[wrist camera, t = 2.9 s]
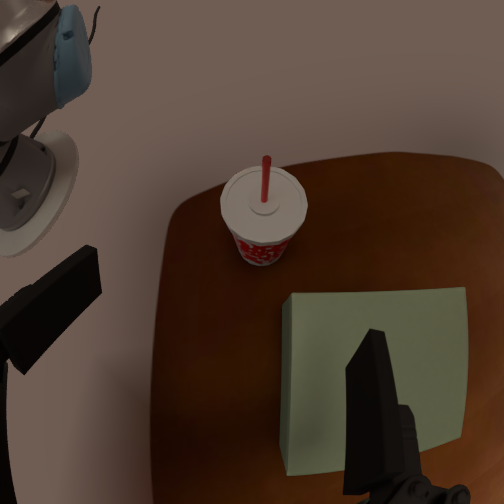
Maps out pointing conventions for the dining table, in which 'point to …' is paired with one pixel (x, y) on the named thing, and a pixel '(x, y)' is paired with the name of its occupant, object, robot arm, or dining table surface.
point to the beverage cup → (263, 211)
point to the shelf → (342, 350)
